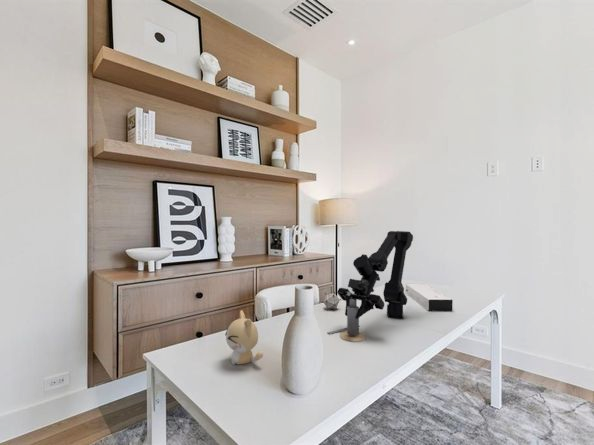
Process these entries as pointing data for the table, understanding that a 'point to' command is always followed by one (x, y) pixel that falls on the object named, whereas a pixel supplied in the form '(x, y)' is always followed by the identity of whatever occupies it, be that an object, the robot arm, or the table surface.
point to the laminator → (428, 297)
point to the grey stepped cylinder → (352, 318)
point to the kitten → (242, 340)
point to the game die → (331, 301)
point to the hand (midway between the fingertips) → (350, 316)
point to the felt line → (337, 331)
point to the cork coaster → (352, 337)
